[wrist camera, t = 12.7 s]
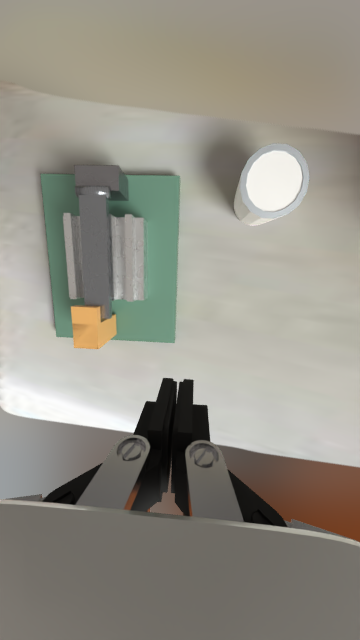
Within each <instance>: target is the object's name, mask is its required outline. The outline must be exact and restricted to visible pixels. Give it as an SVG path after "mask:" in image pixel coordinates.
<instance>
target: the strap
mask: <svg viewBox="0 0 360 640" xmlns="http://www.w3.org/2000/svg"><path fill="white" fill-rule="evenodd" d="M75 194H76V196H77V197H78V198H79V211H80V229H81V247H82V265H83V284H84V302H85V306H100V314H101V318H103V319H110V318H112V297H111V262H110V227H109V199H111V198H112V191H111V188H110V186H87V185H76V186H75Z"/></svg>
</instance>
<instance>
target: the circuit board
mask: <svg viewBox="0 0 360 640" xmlns="http://www.w3.org/2000/svg"><path fill="white" fill-rule="evenodd" d="M40 175H41V185H42V195H43V205H44V215H45V225H46V235H47V246H48V256H49V266H50V276H51V286H52V296H53V306H54V317H55V327H56V337H71V338H73V327H72V314H71V306H75V305H80V306H85V302H84V298H80V299H70V297H69V286H68V274H67V262H66V249H65V237H64V225H63V216H64V213H71V214H74V215H76V216H80V211H79V198H78V197H77V196H76V194H75V186H76V184H75V174H40ZM126 177H127V178H128V190H129V201H109V214H112V215H113V216H115V217H125V214H132V215H133V216H134V217H135V218H144V219H145V220H146V221H147V222H148V298H147V299H145V300H135V301H134V302H127V300H121V299H118V300H115V301H112V314H116V330H117V334H116V335H115V336H114V337H113V338H111V339H110V340H127V341H146V342H164V343H174V342H175V329H176V298H177V267H178V235H179V204H180V176H160V175H126Z"/></svg>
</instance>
